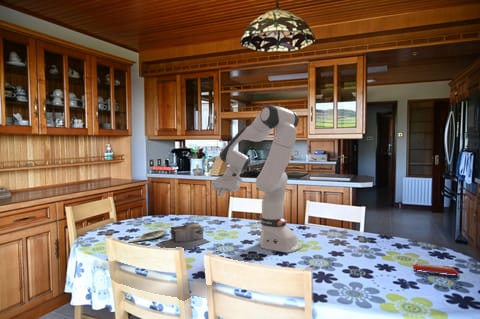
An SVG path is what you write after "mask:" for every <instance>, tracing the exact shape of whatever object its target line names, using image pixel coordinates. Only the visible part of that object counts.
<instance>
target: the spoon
mask: <svg viewBox="0 0 480 319" xmlns="http://www.w3.org/2000/svg"><path fill="white" fill-rule="evenodd" d="M166 234H167V230H165V229H159V230H153V231H150V232H146V233H144V234H142V235H140V236H139V237H137V238H135V239H132V240H129V241H128V242H130V243H129V244H131V243H135V242H140V241H150V240H153V239H156V238H160V237H162V236H164V235H166Z"/></svg>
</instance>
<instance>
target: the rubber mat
mask: <svg viewBox="0 0 480 319" xmlns="http://www.w3.org/2000/svg"><path fill="white" fill-rule="evenodd" d="M210 242H211V240H207V239H205V238H202V239H195V240H188V241H181V242H174V241H173V239H169V240H166V241H163V242H159V243H156V244H155V245H156V246H158V247H160V248H162V247H165V248H176V247H182V248H184V251H187V250H191V249H193V248H196V247H199V246H202V245H205V244H209V243H210ZM165 248H164V249H165Z"/></svg>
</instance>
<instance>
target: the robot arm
mask: <svg viewBox="0 0 480 319" xmlns="http://www.w3.org/2000/svg"><path fill="white" fill-rule="evenodd" d="M299 122H300V117H299V114H297V112H296V111H293V110H292V109H291V110H290V109H288V108H285V107H281V106H277V105H274V104H267V105H265V106H264V107H263V108H262V109H261V111H260V112H259V113H258V114H257V116H256V117H255V118H254V120H253V121H252V123H251V124H250V125H248V126H243V127H242V128H241V129H240V130H239V131H238V132H237V133H236V134H235V136H234V137H232V138H231V140H230V141H229V142H228V143H227V145H226V146H224V147H223V148H222V149H221V151H220V152H219V158H220V160H221V162H224V163H226V164H228V168H226V169H225V171H224V173H223V174H222V176H219V177H217V178H215V179H214V181H213V182H212V183H211V185H210V186H211V187H210V188H212V189H213V191H214V190H215V191H218V192H216V193H217V194H216V195H217V196H218V197H223V195H224V194H225V193H227V192H234V193H236V192H238V191H239V190H240V188H241V186H242V184H243V182H244V180H243V179H242V177H241V176H240V175H241V174H242V173H244V172H246V171H247V169H248V167H249V166H250V164H251V161H250V158H249V156H247V155H246V154H244V153H242V152H240V151H238V149H235V147H236V146H237V144H238V143H239V142H240V141H244V140H245V141H250V142H262V141H265V139H267V137H268V136H269V135H270V133H271V131H272V130H273V129H274V136H273V139H272V142H271V146H270V149H269V152H268V156H267V158H266V160H265V162H264V164H263V166H262V169H261V171H260V172H259V174H258V176H257V177H256V179H255V186H256V188H257V189H258V190H259V191H260V192H262V193H263V194H264V195H263V199H262V200H261V217H260V224H261V229H260V230H261V231H260V238H259V241H258V245H260V246H259V248H261V249H264V250H270V251H276V252H279V253H280V252H282V253H289V254H290V253H293V252H296V251H298V250H300V249H302V247H303V246H302V244H301V243H299V242H298V237H297V235H296V233H295V232H294V231H293V230H292V229H291V228H289V227H288V225H287V222H288V221H289V220H288V219H285V217H284V199H285V193H286V187H287V186H286V185H287V182H288V175H287V172H286V171H285V170H286V168H287V166H288V165H289V163H290V162H291V158H292V154H293V151H294V147H295V146H296V145H295V144H296V139H297V132H298V130H297V126H298V124H299Z"/></svg>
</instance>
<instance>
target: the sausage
mask: <svg viewBox="0 0 480 319" xmlns="http://www.w3.org/2000/svg"><path fill="white" fill-rule="evenodd" d="M412 269H413V270H414V269H416V270H422V271H430V272H438V273H447V274H459V275H460V273H459V272H458V271H457V270H456V269H455V268H454V267H452V266H444V265H436V264H429V263H428V264H427V263H419V262H418V263H415V264H412ZM416 270H415V271H416Z"/></svg>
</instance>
